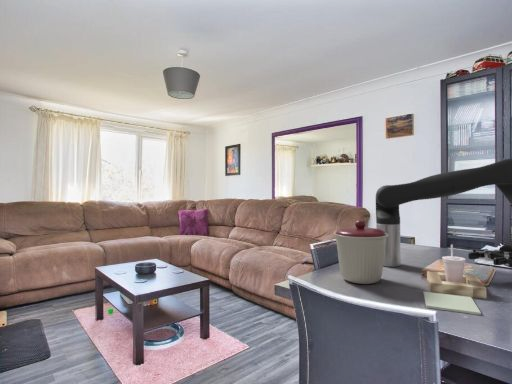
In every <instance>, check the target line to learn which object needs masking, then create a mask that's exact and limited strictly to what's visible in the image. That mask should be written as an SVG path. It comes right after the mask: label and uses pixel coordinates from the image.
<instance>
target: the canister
mask: <svg viewBox="0 0 512 384" xmlns="http://www.w3.org/2000/svg"><path fill="white" fill-rule="evenodd" d="M333 235H334V236H335V241H336V249H337V256H338V257H337V259H338V264H339V271H340V275H341V276H342V278H343V279H344V280H346V282H350V283H354V284H360V285H371V284H376V283H378V282H379V281H380V280H381V279H382V276H383V270H384V266H383V263H384V254H385V245H386V237H388V234H387V233H385V232H384V231H382V230H380V229H376V227H375V228H374V227H367V226H366V222H365V221H364V220H363V219H361V220H360V219H359V220H356V221H355V223H354V227H353V226H352V227H343V228H342V227H341V228H339V229H337V230H336V231H333Z"/></svg>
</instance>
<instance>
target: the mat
mask: <svg viewBox="0 0 512 384" xmlns="http://www.w3.org/2000/svg"><path fill="white" fill-rule="evenodd" d="M423 298H424V302H425V306H426V307H425V308H427V309H432V310H433V309H434V310H440V311H441V310H442V311H448V312H453V313H454V312H456V313H462V314H469V315H470V314H471V315H477V316H482V312H481V310H480V309H479V307H478V306H477V305H476V303H475V301H474V300H473V297H466V296H457V295H449V294H440V293H432V292H430V291H423Z"/></svg>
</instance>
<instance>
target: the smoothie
mask: <svg viewBox="0 0 512 384" xmlns="http://www.w3.org/2000/svg"><path fill="white" fill-rule="evenodd" d="M441 261H442V263H443V271H444V273H445V277H446V281H447V282H457V283H462V278H463V274H464V269H465V264H466V263H467V261H466V258H465V257H460V256H454V244H450V255H446V256H445V255H444V256H442V257H441Z"/></svg>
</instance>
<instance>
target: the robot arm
mask: <svg viewBox="0 0 512 384" xmlns="http://www.w3.org/2000/svg"><path fill="white" fill-rule="evenodd" d="M493 185H494V186H496V188H498V189H499V191H500V192H501V193H502V194H503V195H504V197H505V198H506V199H507V201H508V202H509V203H510V205H511V206H512V158H505V159H502V160H500V161H496V162H493V163H489V164H486V165H483V166H478V167H474V168H473V167H472V168H467V169H459V170H458V169H457V170H453V171H447V172H442V173H437V174H433V175H429V176H426V177H424V178H421V179H418V180H415V181H411V182H409V183H408V182H407V183H401V184H394V185H393V184H392V185H391V184H390V185H388V184H387V185H386V184H385V185H382V186H380V187H379V188H378V189H377V191H376V193H375V218H376V219H375V220H376V221H375V222H376V224H375V225H376V227H375V229H380V230H382V231H384V232H385V233H387V234H388V237H386V245H385V254H384V263H383V267H392V268H393V267H394V268H395V267H400V266H401V265H402V264H401V262H402V259H401V254H402V253H401V216H400V205H403V204H407V203H410V202H415V201H419V200H420V201H421V200H432V199H433V200H434V199H438V198H444V197H450V196H454V195H459V194H463V193H466V192H467V193H468V192H469V191H473V190H476V189H479V188H482V187H486V186H493ZM489 257H490V258H489ZM468 259H469V260H485V261H487V262H493V265H494V266H503V265H504V266H505V267H508V268H512V243H511V244H505V245H502V246H500V247H499V249H488V248H484V249H483V248H482V249H481V248H480V249H472V252H468Z"/></svg>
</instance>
